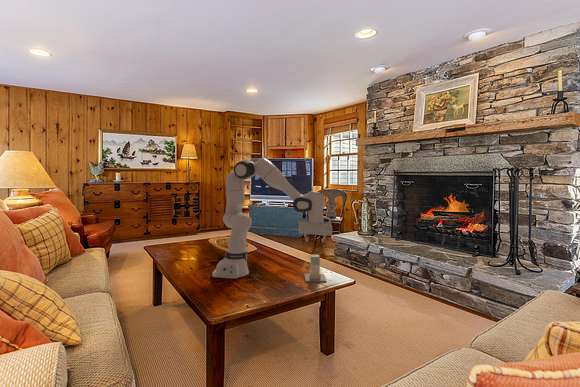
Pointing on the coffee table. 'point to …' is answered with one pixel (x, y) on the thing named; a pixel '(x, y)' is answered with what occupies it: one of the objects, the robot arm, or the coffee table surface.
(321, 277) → the build pad
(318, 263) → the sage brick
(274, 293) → the coffee table surface
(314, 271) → the cream brick
